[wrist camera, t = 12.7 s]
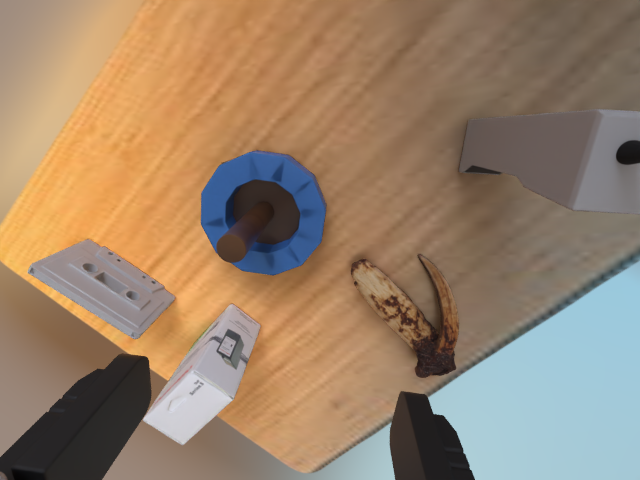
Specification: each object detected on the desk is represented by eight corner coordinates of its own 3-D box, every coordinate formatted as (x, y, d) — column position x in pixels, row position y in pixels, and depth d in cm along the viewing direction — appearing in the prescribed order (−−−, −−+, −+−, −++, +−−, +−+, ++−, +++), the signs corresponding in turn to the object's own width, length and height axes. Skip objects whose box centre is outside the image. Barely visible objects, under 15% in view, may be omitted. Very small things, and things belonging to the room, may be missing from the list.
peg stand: (226, 161, 33) (166, 179, 22) (311, 172, 33) (298, 195, 22) (224, 241, 36) (171, 295, 25) (303, 251, 36) (287, 310, 25)
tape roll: (212, 143, 31) (201, 144, 29) (333, 161, 31) (332, 164, 29) (209, 255, 35) (200, 265, 33) (316, 271, 35) (315, 281, 33)
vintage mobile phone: (457, 171, 33) (774, 280, 9) (467, 119, 31) (886, 86, 7) (494, 173, 33) (913, 289, 9) (506, 121, 31) (1056, 95, 7)
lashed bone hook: (485, 328, 39) (398, 220, 35) (506, 354, 35) (410, 234, 30) (422, 369, 41) (332, 271, 37) (434, 398, 37) (334, 291, 32)
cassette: (83, 246, 37) (22, 274, 30) (89, 234, 37) (29, 260, 30) (171, 304, 39) (134, 344, 32) (178, 294, 39) (143, 332, 32)
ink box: (222, 365, 42) (181, 450, 31) (191, 343, 41) (139, 422, 30) (263, 325, 40) (235, 401, 29) (231, 301, 39) (190, 370, 28)
